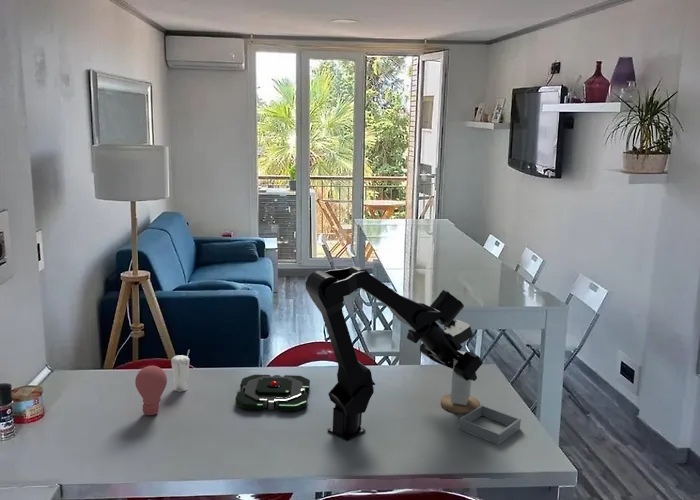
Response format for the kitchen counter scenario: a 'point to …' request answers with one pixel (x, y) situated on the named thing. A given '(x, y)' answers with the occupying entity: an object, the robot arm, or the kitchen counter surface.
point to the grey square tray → (484, 432)
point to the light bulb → (151, 387)
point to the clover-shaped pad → (273, 392)
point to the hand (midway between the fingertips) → (466, 373)
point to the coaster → (459, 405)
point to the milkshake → (180, 372)
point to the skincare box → (460, 388)
